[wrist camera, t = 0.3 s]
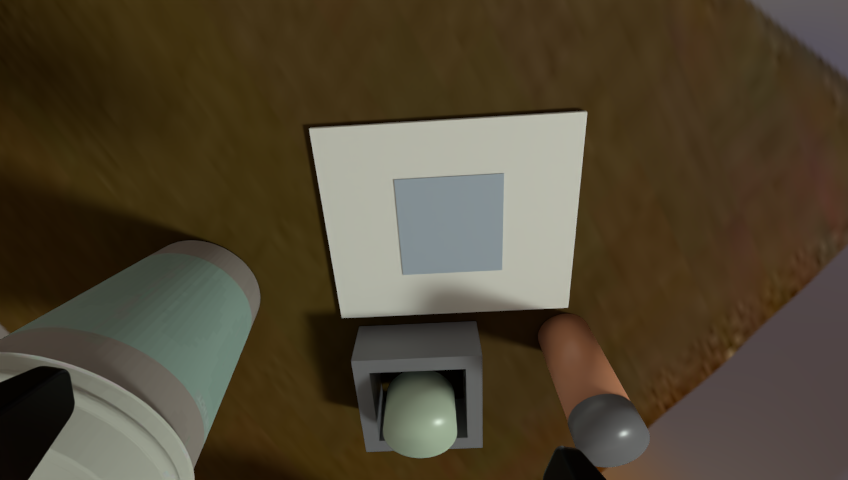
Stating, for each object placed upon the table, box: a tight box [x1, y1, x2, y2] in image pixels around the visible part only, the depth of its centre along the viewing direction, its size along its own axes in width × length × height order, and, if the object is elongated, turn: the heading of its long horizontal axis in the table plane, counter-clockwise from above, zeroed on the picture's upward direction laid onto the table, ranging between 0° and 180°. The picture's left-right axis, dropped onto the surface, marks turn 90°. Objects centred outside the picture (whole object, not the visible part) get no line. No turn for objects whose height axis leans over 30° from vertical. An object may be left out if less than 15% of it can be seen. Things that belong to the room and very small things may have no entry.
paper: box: [309, 111, 587, 318], centre depth 21 cm, size 10×12×1 cm
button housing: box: [351, 321, 483, 452], centre depth 24 cm, size 6×6×3 cm
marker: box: [538, 314, 650, 467], centre depth 21 cm, size 3×3×7 cm
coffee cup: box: [0, 240, 260, 480], centre depth 17 cm, size 9×8×12 cm
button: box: [383, 371, 457, 458], centre depth 22 cm, size 4×4×2 cm
